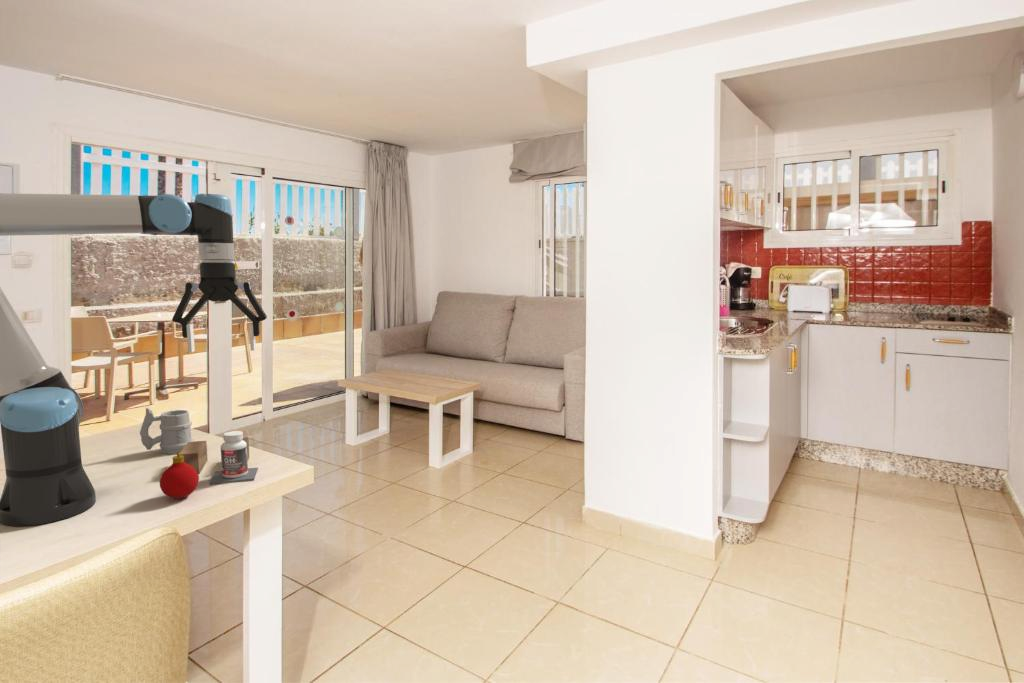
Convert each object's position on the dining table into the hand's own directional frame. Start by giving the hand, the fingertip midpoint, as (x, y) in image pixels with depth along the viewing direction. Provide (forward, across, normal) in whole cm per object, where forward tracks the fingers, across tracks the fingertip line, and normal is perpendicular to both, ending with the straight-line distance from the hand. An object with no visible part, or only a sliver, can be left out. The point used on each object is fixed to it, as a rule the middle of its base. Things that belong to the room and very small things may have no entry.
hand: (222, 350), depth 143 cm
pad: (+27, +3, -12) cm, 30 cm away
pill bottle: (+27, +4, -12) cm, 30 cm away
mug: (+28, -17, +12) cm, 34 cm away
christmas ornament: (+28, -5, -23) cm, 36 cm away
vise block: (+27, -2, -4) cm, 28 cm away
